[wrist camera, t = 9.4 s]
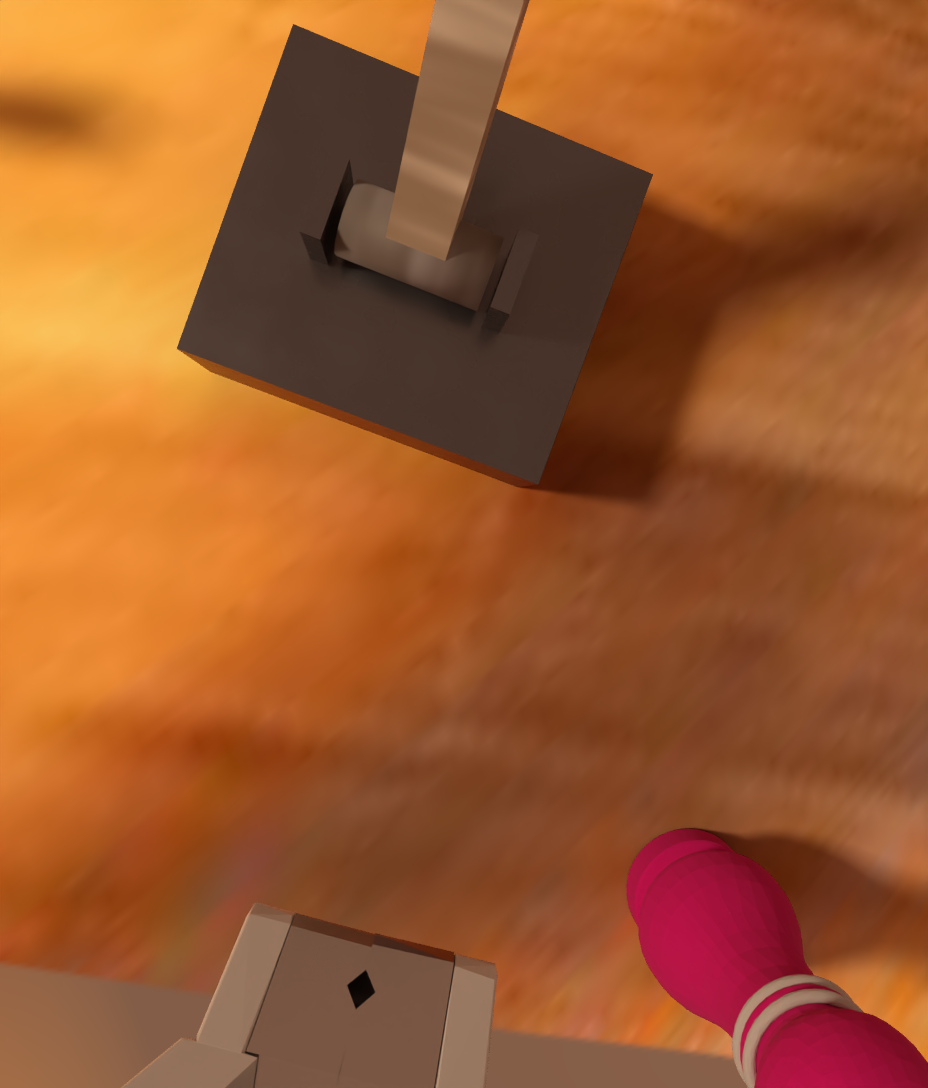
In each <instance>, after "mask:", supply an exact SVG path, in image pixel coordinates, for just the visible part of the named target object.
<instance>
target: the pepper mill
mask: <svg viewBox="0 0 928 1088" xmlns="http://www.w3.org/2000/svg"><path fill="white" fill-rule="evenodd" d="M627 901H628V906H629V909H630V912H631V914H632V916H633V918H634V920H635V922H636V924H637V926H638V927H639V940H640V945H641V949H642V953H643V956H644V958H645V960H646V963H647V965H648V966H649V968H650V970H651V971H652V973H653V974H654V976H655V977H656V979H657V980H658V981H659V983H660V984H661V986H662V987H663V988H664V989H665V990H666V991H667V993H668V994H669V995H670V996H671V997H672V998H674V999H675V1000H676V1001H677V1002H678V1003H680V1004H681V1005H682V1006H683V1007H685V1008H686V1009H687V1010H689V1011H690V1012H692V1013H693V1014H695V1015H697V1016H699V1017H702V1018H704V1019H706V1020H708V1021H710V1022H712V1023H714V1024H716V1025H718V1026H720V1027H721V1028H722V1029H724V1030H725V1031H726V1032H727V1033H728V1034H729V1035H730V1036H731V1037H732V1050H733V1057H734V1061H735V1064H736V1067H737V1070H738V1072H739V1074H740V1076H741V1077H742V1079H743V1080H744V1082H745V1083H746V1084H747V1087H748V1088H928V1062H927V1061H926V1060H925V1059H924V1057H923V1056H922V1055H921V1053H920V1052H919V1051H918V1050H917V1048H916V1047H915V1046H914V1045H913V1044H912V1043H911V1042H910V1041H909V1040H908V1039H907V1038H906V1037H905V1036H904V1035H903V1034H901V1033H900V1032H899V1031H897V1030H896V1029H895V1028H893V1027H892V1026H891V1025H889V1024H888V1023H887V1022H885V1021H883V1020H881V1019H879V1018H877V1017H875V1016H874V1015H870V1014H867V1013H864V1012H863V1011H862V1010H861V1009H860V1008H859V1007H858V1006H857V1005H856V1004H855V1003H854V1002H853V1001H852V999H851V998H850V997H849V996H848V994H847V993H846V992H845V991H844V990H842V989H841V988H840V987H839V986H837V985H836V984H834V983H833V982H831V981H829V980H826V979H824V978H822V977H818V976H814V975H813V973H812V972H811V970H810V969H809V968H808V966H807V965H806V963H805V960H804V958H803V947H802V938H801V932H800V927H799V924H798V921H797V919H796V916H795V913H794V910H793V908H792V905H791V903H790V901H789V899H788V897H787V896H786V894H785V892H784V891H783V890H782V888H781V887H780V886H779V885H778V883H777V882H776V881H775V879H774V878H773V877H772V876H771V875H770V874H769V873H768V872H767V871H766V870H765V869H764V868H763V867H761V866H760V865H759V864H757V863H756V862H754V861H753V860H751V859H749V858H748V857H745V856H743V855H740V854H738V853H735V852H734V851H733V850H732V849H731V848H730V847H729V846H728V845H727V844H726V843H725V842H724V841H723V840H721V839H720V838H718V837H717V836H715V835H713V834H711V833H708V832H706V831H702V830H698V829H679V830H674V831H670V832H667V833H665V834H662V835H660V836H658V837H657V838H655V839H653V840H652V841H651V842H650V843H648V844H647V845H646V846H645V847H644V848H643V849H642V850H641V851H640V853H639V854H638V855H637V857H636V858H635V860H634V862H633V864H632V866H631V868H630V871H629V874H628V879H627Z"/></svg>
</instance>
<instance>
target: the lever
mask: <svg viewBox="0 0 928 1088" xmlns="http://www.w3.org/2000/svg"><path fill="white" fill-rule="evenodd" d="M528 3H529V0H435V5H434V9H433V14H432V19H431V24H430V28H429V33H428V38H427V43H426V47H425V52H424V57H423V62H422V67H421V71H420V76H419V81H418V86H417V90H416V95H415V100H414V105H413V109H412V114H411V119H410V124H409V128H408V133H407V138H406V143H405V147H404V152H403V157H402V162H401V166H400V171H399V176H398V181H397V185H396V190H395V193H393V192H391V191H388V190H386V189H384V188H381V187H379V186H376V185H374V184H371V183H369V182H366V181H364V180H361V179H358V180H357V181H356V182H355V184H354V185H353V187H352V189H351V191H350V194H349V196H348V198H347V201H346V204H345V206H344V209H343V212H342V216H341V219H340V222H339V226H338V230H337V235H336V240H335V249H334V252H335V255H336V256H338V257H340V258H343V259H345V260H348V261H350V262H353V263H355V264H358V265H360V266H363V267H366V268H368V269H371V270H373V271H376V272H378V273H381V274H383V275H386V276H388V277H391V278H393V279H396V280H399V281H401V282H404V283H406V284H409V285H411V286H414V287H416V288H419V289H421V290H424V291H427V292H429V293H432V294H434V295H437V296H439V297H442V298H444V299H447V300H449V301H452V302H454V303H457V304H460V305H462V306H465V307H467V308H470V309H472V310H475V311H477V310H478V308H479V305H480V303H481V300H482V297H483V295H484V292H485V289H486V286H487V284H488V281H489V278H490V276H491V273H492V270H493V267H494V265H495V262H496V259H497V257H498V254H499V251H500V248H501V246H502V243H503V240H504V237H503V236H500V235H498V234H495V233H493V232H490V231H488V230H485V229H483V228H480V227H478V226H475V225H473V224H470V223H468V222H465V221H463V220H462V218H463V215H464V211H465V208H466V205H467V202H468V198H469V195H470V192H471V189H472V185H473V182H474V179H475V176H476V172H477V169H478V166H479V163H480V159H481V156H482V153H483V150H484V146H485V143H486V140H487V137H488V133H489V130H490V127H491V124H492V120H493V117H494V114H495V111H496V107H497V104H498V101H499V98H500V94H501V91H502V88H503V85H504V81H505V78H506V75H507V72H508V68H509V65H510V62H511V59H512V55H513V52H514V49H515V46H516V42H517V39H518V36H519V33H520V29H521V26H522V23H523V20H524V16H525V13H526V10H527V7H528Z"/></svg>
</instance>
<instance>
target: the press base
mask: <svg viewBox="0 0 928 1088" xmlns="http://www.w3.org/2000/svg"><path fill="white" fill-rule="evenodd" d="M418 81H419V76H416V75H414V74H411V73H409V72H407V71H404V70H402V69H399V68H397V67H395V66H392V65H390V64H388V63H385V62H383V61H380V60H378V59H376V58H373V57H371V56H368V55H366V54H364V53H361V52H359V51H356V50H354V49H352V48H349V47H347V46H344V45H342V44H340V43H337V42H335V41H332V40H330V39H328V38H325V37H323V36H321V35H318V34H316V33H313V32H311V31H309V30H306V29H304V28H301V27H299V26H297V25H294V24H293V26H292V29H291V32H290V35H289V37H288V40H287V43H286V46H285V49H284V51H283V54H282V57H281V60H280V62H279V65H278V68H277V71H276V74H275V76H274V79H273V82H272V85H271V88H270V90H269V93H268V96H267V99H266V101H265V104H264V107H263V110H262V113H261V115H260V118H259V121H258V124H257V127H256V129H255V132H254V135H253V138H252V141H251V143H250V146H249V149H248V152H247V154H246V157H245V160H244V163H243V166H242V168H241V171H240V174H239V177H238V180H237V182H236V185H235V188H234V191H233V193H232V196H231V199H230V202H229V205H228V207H227V210H226V213H225V216H224V219H223V221H222V224H221V227H220V230H219V233H218V235H217V238H216V241H215V244H214V246H213V249H212V252H211V255H210V258H209V260H208V263H207V266H206V269H205V272H204V274H203V277H202V280H201V283H200V285H199V288H198V291H197V294H196V297H195V299H194V302H193V305H192V308H191V311H190V313H189V316H188V319H187V322H186V324H185V327H184V330H183V333H182V336H181V338H180V341H179V344H178V347H177V349H178V350H180V351H181V352H183V353H184V354H185V355H187V356H188V357H190V358H191V359H193V360H194V361H196V362H197V363H199V364H200V365H201V366H203V367H204V368H206V369H207V370H209V371H210V372H212V373H215V374H218V375H220V376H223V377H226V378H228V379H231V380H234V381H236V382H239V383H242V384H244V385H247V386H250V387H252V388H255V389H258V390H260V391H263V392H266V393H268V394H271V395H274V396H276V397H279V398H282V399H284V400H287V401H290V402H292V403H295V404H298V405H300V406H303V407H306V408H308V409H311V410H314V411H316V412H319V413H322V414H324V415H327V416H330V417H332V418H335V419H338V420H340V421H343V422H346V423H348V424H351V425H354V426H356V427H359V428H362V429H364V430H367V431H370V432H372V433H375V434H378V435H380V436H383V437H386V438H388V439H391V440H394V441H396V442H399V443H402V444H404V445H407V446H410V447H412V448H415V449H418V450H420V451H423V452H426V453H428V454H431V455H434V456H436V457H439V458H442V459H444V460H447V461H450V462H452V463H455V464H458V465H460V466H463V467H466V468H468V469H471V470H474V471H476V472H479V473H482V474H484V475H487V476H490V477H492V478H495V479H498V480H500V481H503V482H506V483H508V484H511V485H514V486H516V487H524V486H532V485H538V484H539V482H540V479H541V476H542V473H543V471H544V468H545V465H546V463H547V460H548V457H549V454H550V452H551V449H552V446H553V444H554V441H555V438H556V436H557V433H558V430H559V427H560V425H561V422H562V419H563V417H564V414H565V411H566V409H567V406H568V403H569V400H570V398H571V395H572V392H573V390H574V387H575V384H576V381H577V379H578V376H579V373H580V371H581V368H582V365H583V363H584V360H585V357H586V354H587V352H588V349H589V346H590V344H591V341H592V338H593V335H594V333H595V330H596V327H597V325H598V322H599V319H600V317H601V314H602V311H603V308H604V306H605V303H606V300H607V298H608V295H609V292H610V289H611V287H612V284H613V281H614V279H615V276H616V273H617V271H618V268H619V265H620V262H621V260H622V257H623V254H624V252H625V249H626V246H627V244H628V241H629V238H630V235H631V233H632V230H633V227H634V225H635V222H636V219H637V216H638V214H639V211H640V208H641V206H642V203H643V200H644V198H645V195H646V192H647V189H648V187H649V184H650V181H651V179H652V176H653V174H651V173H648V172H646V171H644V170H641V169H639V168H636V167H634V166H632V165H629V164H627V163H624V162H622V161H620V160H617V159H615V158H613V157H610V156H608V155H605V154H603V153H601V152H598V151H596V150H593V149H591V148H589V147H586V146H584V145H581V144H579V143H577V142H574V141H572V140H569V139H567V138H565V137H562V136H560V135H557V134H555V133H553V132H550V131H548V130H546V129H543V128H541V127H538V126H536V125H534V124H531V123H529V122H526V121H524V120H522V119H519V118H517V117H514V116H512V115H510V114H507V113H505V112H502V111H500V110H498V109H496V111H495V114H494V117H493V120H492V124H491V127H490V130H489V133H488V137H487V140H486V143H485V146H484V150H483V153H482V156H481V159H480V163H479V166H478V169H477V172H476V176H475V179H474V182H473V185H472V189H471V192H470V195H469V198H468V202H467V205H466V208H465V211H464V215H463V218H462V220H463V221H465V222H468V223H470V224H473V225H475V226H478V227H480V228H483V229H485V230H488V231H490V232H493V233H495V234H498V235H500V236H503V237H504V240H503V243H502V246H501V248H500V251H499V254H498V257H497V259H496V262H495V265H494V267H493V270H492V273H491V276H490V278H489V281H488V284H487V286H486V289H485V292H484V295H483V297H482V300H481V303H480V305H479V308H478V310H477V311H475V310H472V309H470V308H467V307H465V306H462V305H460V304H457V303H454V302H452V301H449V300H447V299H444V298H442V297H439V296H437V295H434V294H432V293H429V292H427V291H424V290H421V289H419V288H416V287H414V286H411V285H409V284H406V283H404V282H401V281H399V280H396V279H393V278H391V277H388V276H386V275H383V274H381V273H378V272H376V271H373V270H371V269H368V268H366V267H363V266H360V265H358V264H355V263H353V262H350V261H348V260H345V259H343V258H340V257H338V256H336V255H335V252H334V249H335V240H336V235H337V230H338V226H339V222H340V219H341V216H342V212H343V209H344V206H345V204H346V201H347V198H348V196H349V194H350V191H351V189H352V187H353V185H354V184H355V182H356V181H357V180H358V179H361V180H364V181H366V182H369V183H371V184H374V185H376V186H379V187H381V188H384V189H386V190H388V191H391V192H393V193H395V190H396V185H397V181H398V176H399V171H400V166H401V162H402V157H403V152H404V147H405V143H406V138H407V133H408V128H409V124H410V119H411V114H412V109H413V105H414V100H415V95H416V90H417V86H418Z"/></svg>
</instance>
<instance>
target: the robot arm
mask: <svg viewBox="0 0 928 1088" xmlns="http://www.w3.org/2000/svg"><path fill="white" fill-rule="evenodd" d="M496 983H497V972H496V967H495V963H491V962H487V961H483V960H479V959H475V958H471V957H467V956H462V955H458V954H455V955H454V952H451V951H447V950H443V949H439V948H434V947H430V946H426V945H422V944H418V943H413V942H409V941H405V940H401V939H397V938H393V937H388V936H384V935H380V934H376V933H375V934H373V933H369V932H365V931H362V930H358V929H354V928H350V927H346V926H343V925H339V924H335V923H331V922H328V921H324V920H320V919H316V918H312V917H309V916H305V915H301V914H297V913H296V912H293V911H289V910H285V909H281V908H277V907H273V906H269V905H265V904H261V903H257V902H255V904H254V905H253V907H252V909H251V910H250V912H249V913H248V915H247V917H246V919H245V921H244V924H243V926H242V929H241V931H240V933H239V936H238V938H237V941H236V943H235V945H234V948H233V950H232V953H231V955H230V957H229V960H228V962H227V965H226V967H225V969H224V972H223V974H222V977H221V979H220V981H219V984H218V986H217V989H216V991H215V993H214V996H213V998H212V1001H211V1003H210V1005H209V1008H208V1010H207V1013H206V1015H205V1017H204V1020H203V1022H202V1024H201V1027H200V1029H199V1032H198V1034H197V1036H196V1039H195V1040H193V1039H189V1038H184V1037H182V1038H181V1039H180V1040H178V1041H177V1042H176V1043H175V1044H173V1045H172V1046H171V1047H170V1048H169V1049H167V1050H166V1051H165V1052H164V1053H163V1054H161V1055H160V1056H159V1057H158V1058H156V1059H155V1060H154V1061H153V1062H152V1063H150V1064H149V1065H148V1066H147V1067H145V1068H144V1069H143V1070H142V1071H141V1072H139V1073H138V1074H137V1075H136V1076H135V1077H133V1078H132V1079H131V1080H130V1081H129V1082H128V1083H126V1084H125V1085H124V1086H123V1087H121V1088H486V1079H487V1069H488V1059H489V1050H490V1039H491V1031H492V1021H493V1012H494V1002H495V992H496Z"/></svg>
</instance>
